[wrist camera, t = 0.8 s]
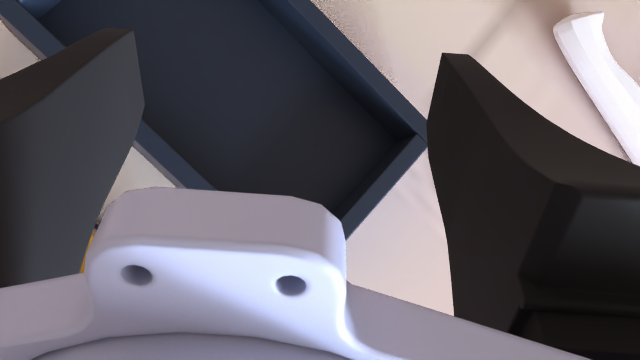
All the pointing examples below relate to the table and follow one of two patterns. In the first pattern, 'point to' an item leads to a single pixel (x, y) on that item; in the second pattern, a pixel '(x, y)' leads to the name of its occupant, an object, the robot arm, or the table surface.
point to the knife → (602, 77)
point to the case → (249, 97)
